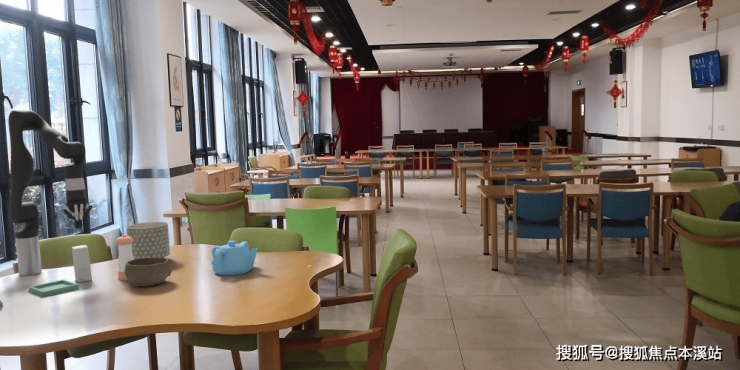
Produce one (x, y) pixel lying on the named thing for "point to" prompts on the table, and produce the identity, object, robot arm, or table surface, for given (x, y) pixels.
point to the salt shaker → (124, 254)
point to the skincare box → (81, 263)
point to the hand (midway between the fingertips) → (78, 228)
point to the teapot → (233, 258)
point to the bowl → (147, 271)
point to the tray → (53, 288)
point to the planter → (149, 239)
